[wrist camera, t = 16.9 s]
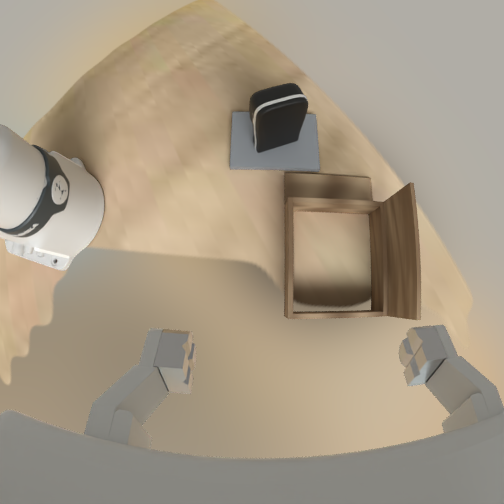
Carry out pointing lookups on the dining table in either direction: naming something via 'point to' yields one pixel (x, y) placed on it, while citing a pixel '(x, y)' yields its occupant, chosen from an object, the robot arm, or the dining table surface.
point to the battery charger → (277, 116)
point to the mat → (281, 158)
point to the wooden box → (381, 239)
